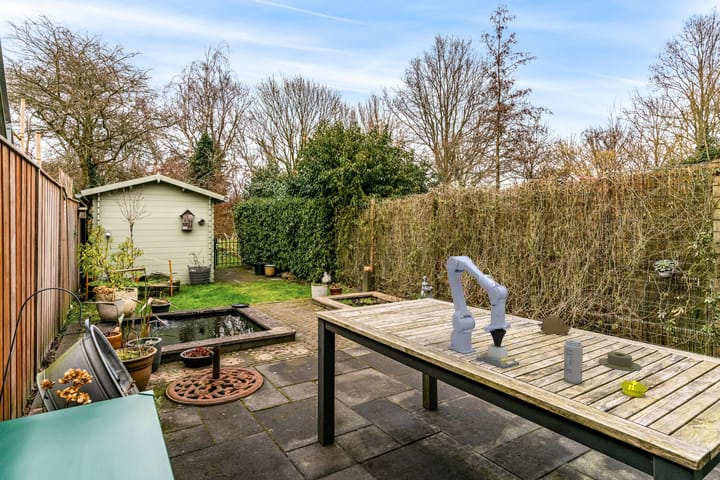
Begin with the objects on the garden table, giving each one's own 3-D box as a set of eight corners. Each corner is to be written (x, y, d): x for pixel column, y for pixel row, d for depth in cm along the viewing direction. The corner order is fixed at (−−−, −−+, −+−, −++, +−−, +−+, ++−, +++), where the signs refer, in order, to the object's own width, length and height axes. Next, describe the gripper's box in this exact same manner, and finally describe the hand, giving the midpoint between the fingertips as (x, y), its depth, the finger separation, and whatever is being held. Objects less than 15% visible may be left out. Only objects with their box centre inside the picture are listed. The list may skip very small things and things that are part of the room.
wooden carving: (568, 334, 213) (568, 316, 213) (571, 336, 208) (571, 317, 208) (536, 332, 216) (536, 314, 216) (538, 334, 211) (538, 316, 211)
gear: (653, 398, 130) (635, 389, 138) (653, 387, 130) (636, 378, 138) (630, 398, 130) (613, 389, 138) (630, 387, 130) (614, 378, 138)
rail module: (487, 356, 168) (487, 344, 168) (493, 355, 170) (494, 343, 170) (501, 361, 162) (501, 348, 162) (507, 359, 164) (507, 347, 164)
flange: (620, 348, 172) (590, 350, 169) (651, 359, 157) (618, 361, 155) (620, 359, 172) (590, 361, 170) (651, 371, 157) (618, 373, 155)
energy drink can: (584, 385, 141) (585, 343, 141) (566, 383, 142) (567, 342, 142) (578, 378, 147) (579, 339, 147) (561, 377, 148) (561, 338, 148)
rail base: (476, 359, 169) (476, 352, 169) (491, 355, 175) (491, 349, 175) (503, 368, 158) (503, 362, 158) (519, 364, 163) (519, 357, 163)
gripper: (494, 318, 159) (493, 351, 159) (516, 314, 166) (516, 346, 167) (480, 315, 165) (480, 347, 165) (502, 311, 172) (502, 342, 172)
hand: (497, 346), depth 166 cm, fingers closed, pressing on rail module
